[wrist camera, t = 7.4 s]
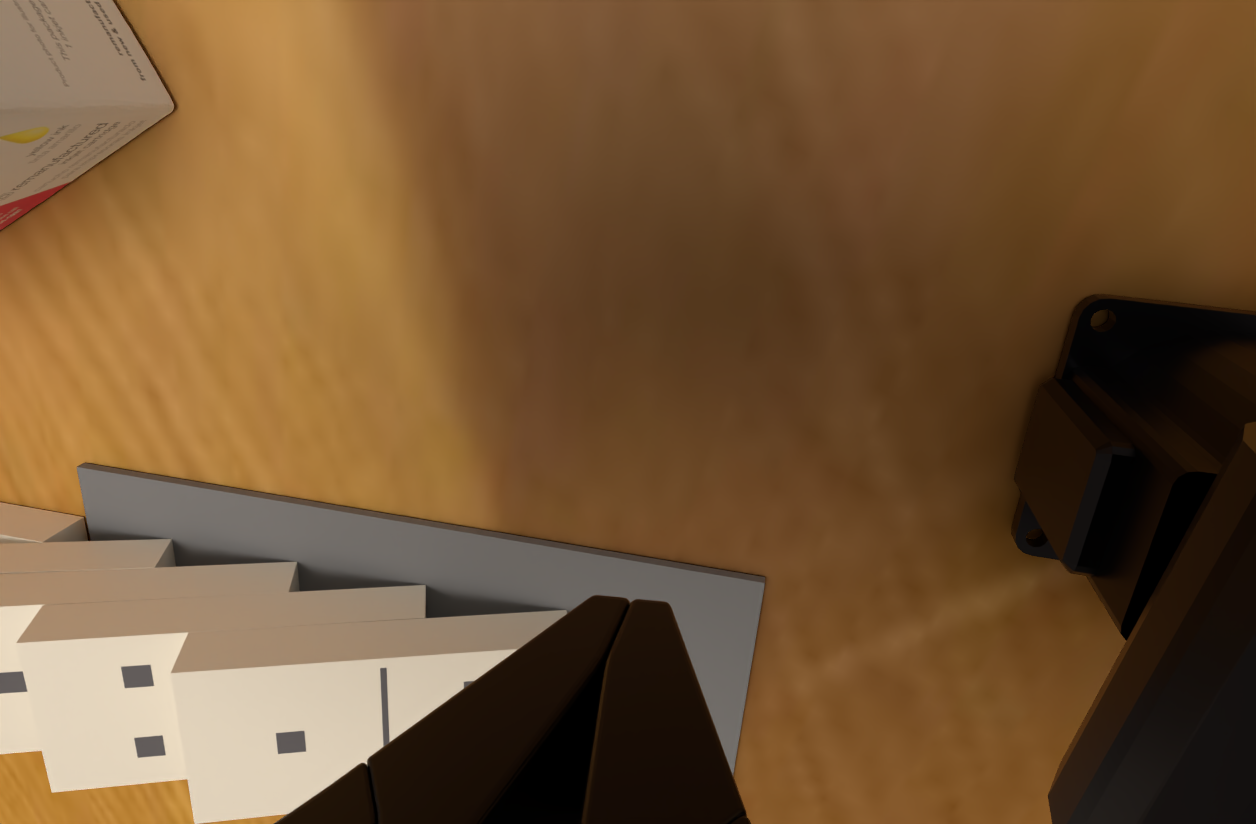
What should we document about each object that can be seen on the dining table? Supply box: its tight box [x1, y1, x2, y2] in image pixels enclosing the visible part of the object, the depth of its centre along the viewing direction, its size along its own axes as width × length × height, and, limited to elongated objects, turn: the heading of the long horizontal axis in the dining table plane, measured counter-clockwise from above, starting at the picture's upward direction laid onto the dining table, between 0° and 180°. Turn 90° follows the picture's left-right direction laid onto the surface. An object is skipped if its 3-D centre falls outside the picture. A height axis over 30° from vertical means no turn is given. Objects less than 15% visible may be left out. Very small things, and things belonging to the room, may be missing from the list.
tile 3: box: [0, 562, 300, 754], centre depth 24 cm, size 2×5×10 cm
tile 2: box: [16, 585, 426, 792], centre depth 24 cm, size 2×5×10 cm
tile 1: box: [171, 610, 567, 824], centre depth 23 cm, size 2×5×10 cm
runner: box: [77, 463, 765, 775], centre depth 26 cm, size 21×9×1 cm, turn 85°
